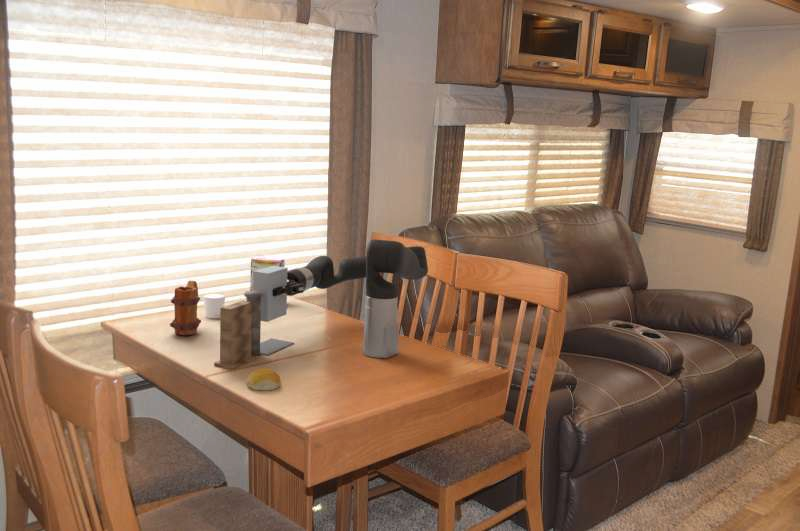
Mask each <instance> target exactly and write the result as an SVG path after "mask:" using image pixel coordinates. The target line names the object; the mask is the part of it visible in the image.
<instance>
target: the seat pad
mask: <svg viewBox="0 0 800 531" xmlns="http://www.w3.org/2000/svg"><path fill="white" fill-rule="evenodd" d="M294 344H295V342H293V341H288V340H283V339H276V338H268V339H267V340H264V341H262V342H261V341H260V355H262V356H270V355H272V354H275V353H277V352H279V351H282V350H283V349H286V348H287V347H290V346H293V345H294Z"/></svg>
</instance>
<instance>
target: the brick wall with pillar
mask: <svg viewBox="0 0 800 531" xmlns="http://www.w3.org/2000/svg"><path fill="white" fill-rule="evenodd" d="M243 297H245V298H246V299H245V300H240V301H237V302H234V303H231V304H228V305H224V307H221V308H220V318H219V320H220V322H219V328H220V329H219V332H220V333H219V334H220V336H219V337H220V338H219V339H220V340H219V345H220V346H219V360H217V361H215V362H214V363H213V365H215V366H214V367H218V366H220V367H219V368H223V367H224V368H223V369H228V368H229V369H228V370H232V369H233V370H235V369H237V368H239V366H240V367H242V366H244V365H246V364H248V363H251V362H252V361H255V360H257V359H258V358H257V357H259V356H261V354H260V343H261V330H262V328H261V324H262V321H261V297H263V292H261V291H250V290H246V291H244V293H243ZM250 361H251V362H250ZM243 364H244V365H243ZM241 365H242V366H241ZM236 367H237V368H236ZM234 368H235V369H234Z"/></svg>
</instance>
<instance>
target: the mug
mask: <svg viewBox="0 0 800 531" xmlns="http://www.w3.org/2000/svg"><path fill="white" fill-rule="evenodd" d="M186 284H187V285H186V286H184V285H183V286H178V287H175V288H174V296H173V297H172V299H171V300H170V303H172V304H173V305H174V319H173V320H172V322H170V324H169V327H171V328H172V329H174V333H175V334H176V335H178V336H192V335H195V334H196V333H197V330H198V328H199V326H200V324H201V323H202V320H201V319H199V317H198V312H197V311H198V303H199V301H200V300H201V297H199V288H198V283H197V281H196V280H188V281H187V283H186Z"/></svg>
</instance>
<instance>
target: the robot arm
mask: <svg viewBox="0 0 800 531" xmlns="http://www.w3.org/2000/svg"><path fill="white" fill-rule="evenodd" d="M365 251H366V252H365V256H361V257H360V256H359V257H351V258H344V259H341V260H340V263H339V265H338V266H339V267H338V271H337V273H336V274H335V270H334V262H333V259H332V258H331V257H329V256H328V255H327V256H326V255H319V256H317V257H314V258H313V259H311V260H310V261H309V262H308V263H307V264H306V265H305V266H302V267H295V268H293V269H289V270H288V271H287V282H286V283H284V285H282V286H281V287H277V288H274V289H273V294H272V295H273V296H278V295H285V294H287V297H292V296H296V295H298V294H304V292H306V291H308V290H309V289H313V288H317V289H319V290H325V289H329V288H331V287H334V286H335V285H338V284H340V283H343V282H346V281H351V280H361V279H365V303H364V304H365V305H364V325H363V326H364V327H363V344H362V346H363V348H362V349H363V350H362V353H363V354H364V355H365V356H368V357H370V358H377V359H379V358H380V359H389V358H391V357H393V356H396V355H397V354H398V352H399V333H400V322H398V321H397V315H398V298H399V288H398V286H397V285H395V284H394V283H392V282H390V281H388V280H386V279H385V278H383V276H381V274H380V273H384V274H393V275H395V276H397V277H398V276H399V277H402V278H403V279H405V280H409V281H414V280H415V281H416V280H420V279H423V278H425V277H426V276H427V275H428V272H429V266H428V261H427V255H426V254H427V253H426V250H425V248H424V247H423V246H421V245H420V246H419V245H418V246H417V245H416V246H415V245H414V246H408V247H407V246H405V245H404V244H403V243H402V242H400V241H396V240H385V239H371V240H369V242H368V244H367V246H366V250H365ZM395 354H396V355H395ZM390 356H391V357H390Z"/></svg>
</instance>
